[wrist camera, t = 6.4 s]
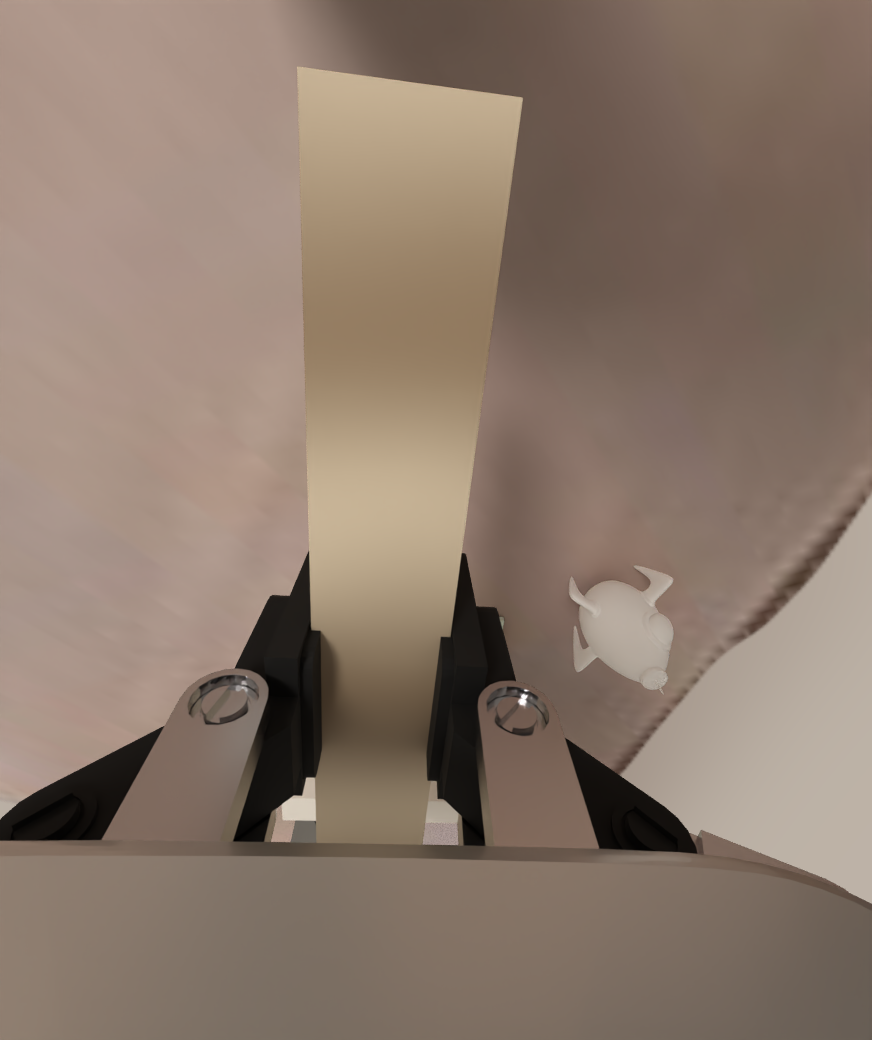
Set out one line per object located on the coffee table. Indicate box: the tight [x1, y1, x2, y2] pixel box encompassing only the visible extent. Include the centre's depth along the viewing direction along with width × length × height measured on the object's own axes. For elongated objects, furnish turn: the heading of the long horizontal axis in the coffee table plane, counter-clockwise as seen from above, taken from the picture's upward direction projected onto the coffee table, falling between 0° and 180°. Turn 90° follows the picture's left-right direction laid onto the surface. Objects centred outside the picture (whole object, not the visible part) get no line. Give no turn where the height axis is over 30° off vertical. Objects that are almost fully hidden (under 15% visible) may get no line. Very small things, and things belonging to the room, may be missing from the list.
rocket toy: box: [569, 565, 674, 695], centre depth 25 cm, size 5×5×8 cm
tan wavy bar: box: [297, 67, 523, 845], centre depth 11 cm, size 18×2×4 cm, turn 175°
